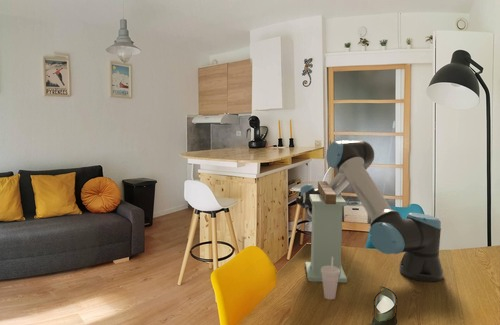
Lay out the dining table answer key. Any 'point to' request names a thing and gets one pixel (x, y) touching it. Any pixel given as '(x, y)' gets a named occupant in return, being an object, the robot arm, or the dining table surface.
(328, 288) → the smoothie
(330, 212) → the stand
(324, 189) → the walnut bar
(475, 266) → the dining table surface
